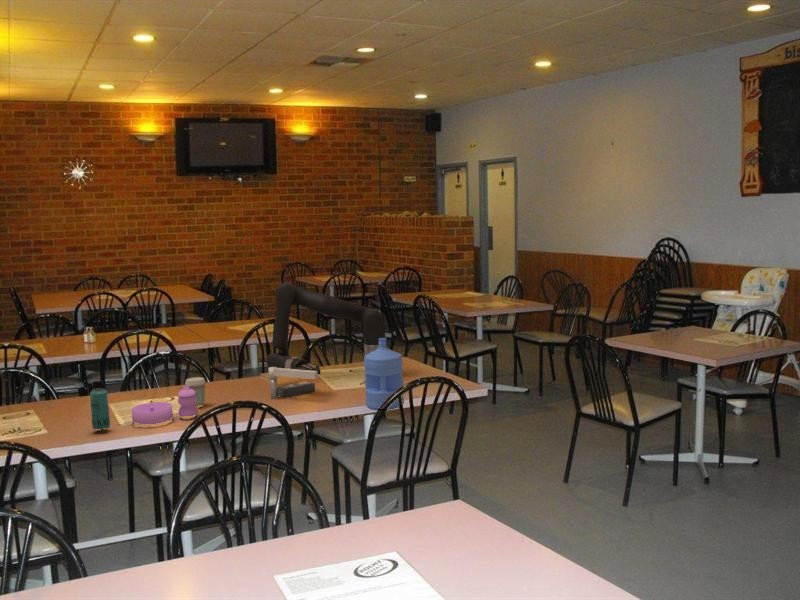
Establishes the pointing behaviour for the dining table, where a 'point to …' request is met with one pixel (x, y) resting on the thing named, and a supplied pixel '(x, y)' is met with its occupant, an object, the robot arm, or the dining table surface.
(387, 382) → the water jug
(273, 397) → the post
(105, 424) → the beverage bottle
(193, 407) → the container set
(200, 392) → the coffee cup
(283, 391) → the block
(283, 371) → the bar
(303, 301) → the robot arm
